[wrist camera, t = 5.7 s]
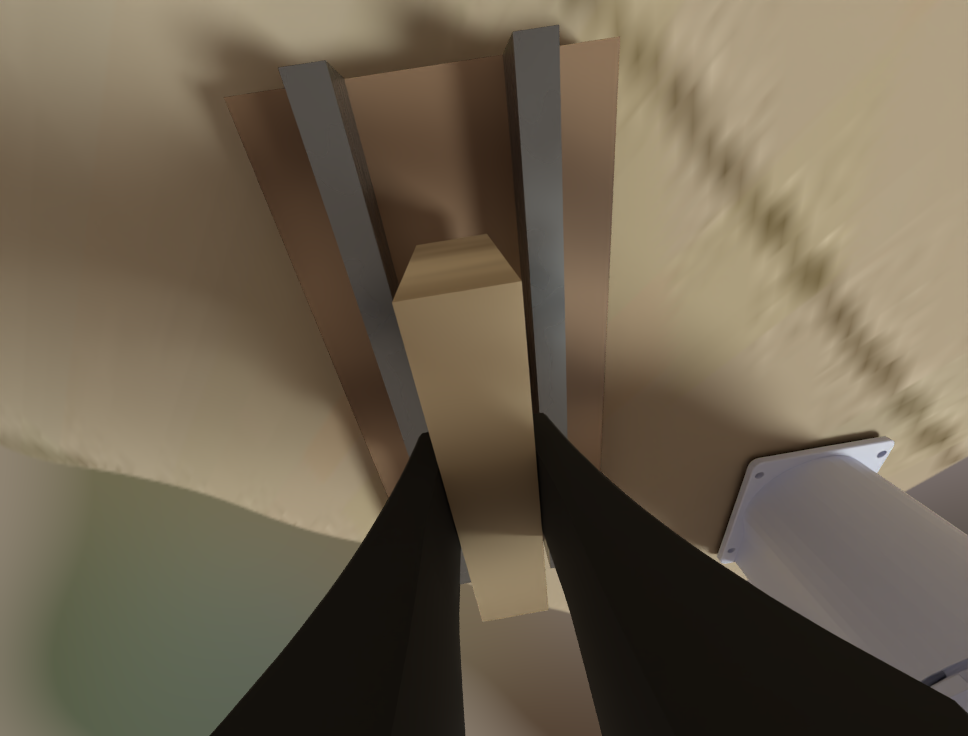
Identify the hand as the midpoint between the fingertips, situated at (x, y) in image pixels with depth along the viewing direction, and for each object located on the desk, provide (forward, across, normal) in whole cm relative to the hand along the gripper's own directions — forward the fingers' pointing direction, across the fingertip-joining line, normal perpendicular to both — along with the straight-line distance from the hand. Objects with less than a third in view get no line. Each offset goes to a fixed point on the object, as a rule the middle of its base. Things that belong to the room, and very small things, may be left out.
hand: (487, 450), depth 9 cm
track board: (+6, 0, +1) cm, 6 cm away
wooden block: (+3, 0, 0) cm, 3 cm away
